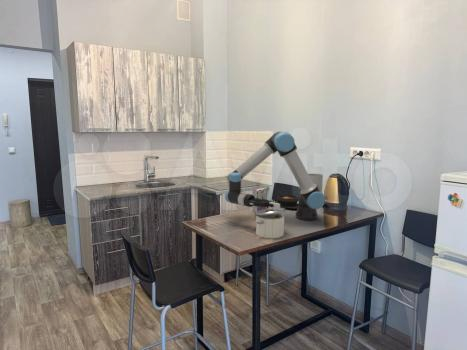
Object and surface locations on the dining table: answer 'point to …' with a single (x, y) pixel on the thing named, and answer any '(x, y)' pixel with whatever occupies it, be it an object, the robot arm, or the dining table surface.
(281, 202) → the casserole
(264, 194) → the candy bar box
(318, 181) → the cylinder vase
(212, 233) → the dining table surface
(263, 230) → the stockpot
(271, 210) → the lid
